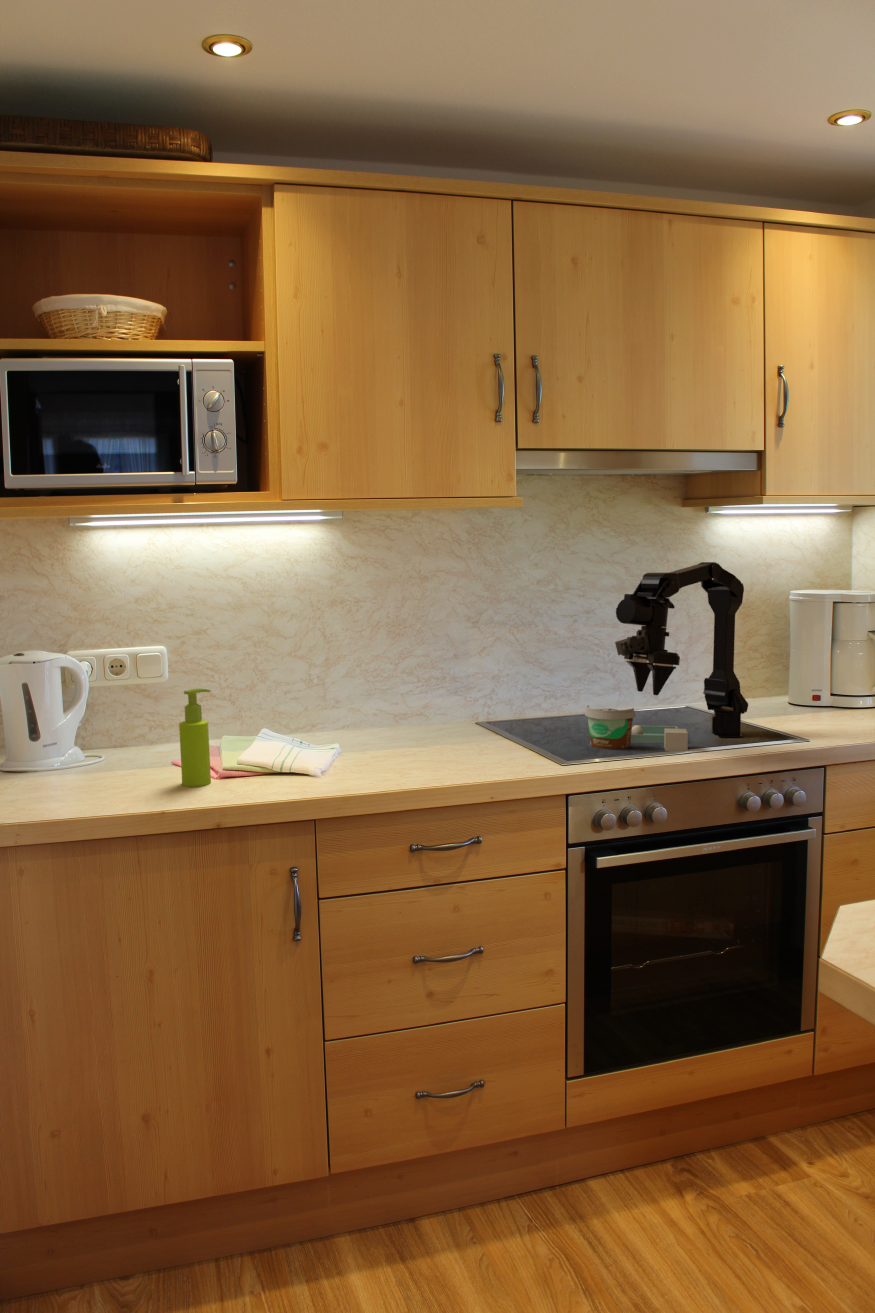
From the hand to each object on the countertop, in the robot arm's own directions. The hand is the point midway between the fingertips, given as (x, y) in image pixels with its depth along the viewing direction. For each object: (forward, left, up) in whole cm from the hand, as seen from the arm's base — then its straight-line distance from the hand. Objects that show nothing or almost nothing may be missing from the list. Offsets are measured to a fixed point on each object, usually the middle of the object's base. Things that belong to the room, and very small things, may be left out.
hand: (647, 693), depth 217 cm
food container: (+9, -2, -14) cm, 17 cm away
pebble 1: (+2, -16, -13) cm, 21 cm away
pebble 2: (+2, -12, -13) cm, 18 cm away
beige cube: (-7, -2, -14) cm, 16 cm away
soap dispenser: (+94, +39, -14) cm, 103 cm away
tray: (-2, -14, -14) cm, 20 cm away
